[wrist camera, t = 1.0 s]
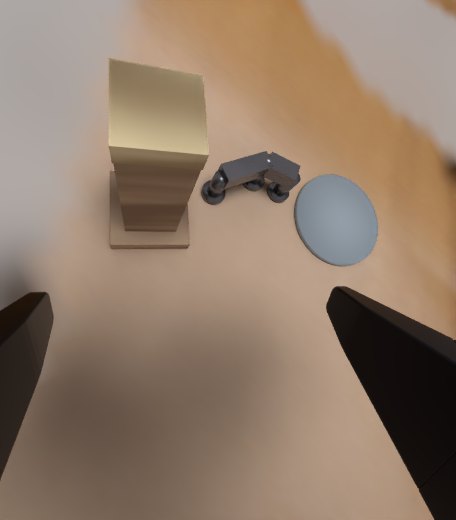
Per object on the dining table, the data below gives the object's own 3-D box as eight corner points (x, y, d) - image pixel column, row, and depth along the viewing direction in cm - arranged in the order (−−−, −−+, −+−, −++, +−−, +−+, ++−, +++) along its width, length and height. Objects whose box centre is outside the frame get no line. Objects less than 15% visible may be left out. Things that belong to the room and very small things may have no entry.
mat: (374, 273, 28) (378, 272, 27) (291, 256, 25) (294, 254, 25) (374, 189, 30) (377, 187, 29) (297, 166, 27) (300, 163, 27)
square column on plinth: (187, 248, 23) (233, 179, 11) (111, 248, 21) (79, 168, 10) (183, 182, 24) (223, 60, 12) (111, 178, 22) (81, 32, 11)
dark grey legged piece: (284, 222, 26) (307, 206, 22) (199, 201, 24) (210, 181, 20) (288, 180, 27) (310, 159, 23) (206, 157, 25) (217, 130, 21)
